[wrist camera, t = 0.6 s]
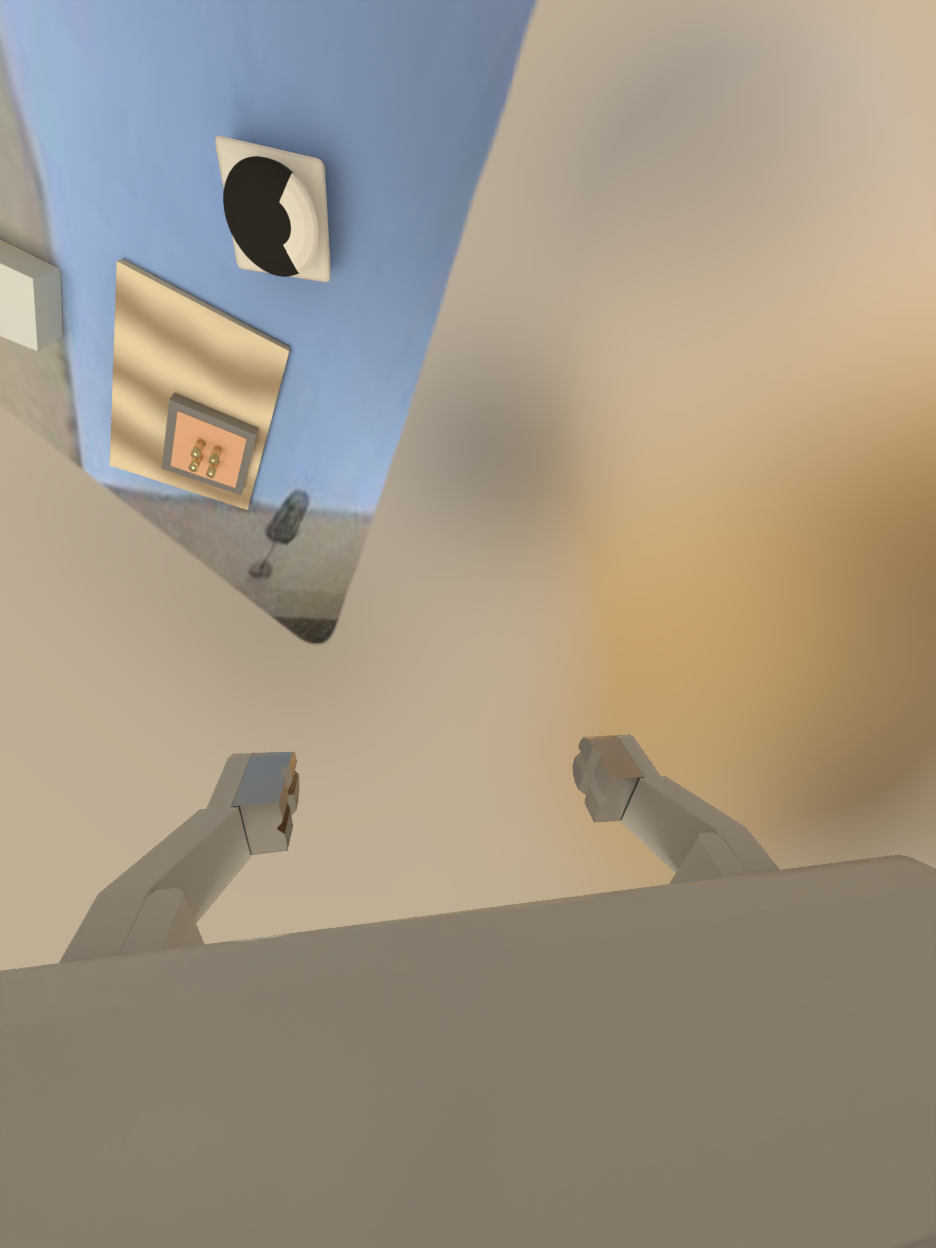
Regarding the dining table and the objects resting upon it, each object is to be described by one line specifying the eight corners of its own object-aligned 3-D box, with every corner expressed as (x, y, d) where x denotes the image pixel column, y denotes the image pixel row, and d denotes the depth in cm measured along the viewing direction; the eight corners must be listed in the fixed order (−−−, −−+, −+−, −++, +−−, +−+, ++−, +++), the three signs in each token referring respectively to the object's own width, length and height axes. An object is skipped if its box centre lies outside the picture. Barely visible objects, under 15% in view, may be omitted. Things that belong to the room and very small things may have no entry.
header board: (122, 258, 36) (93, 270, 32) (290, 347, 44) (285, 366, 39) (114, 459, 48) (92, 488, 43) (249, 503, 55) (241, 532, 50)
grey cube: (-33, 223, 33) (-74, 229, 30) (60, 269, 36) (32, 278, 33) (-23, 299, 36) (-58, 312, 33) (62, 336, 39) (37, 351, 36)
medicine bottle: (249, 257, 38) (226, 279, 30) (229, 139, 33) (196, 128, 25) (330, 270, 40) (329, 294, 32) (324, 161, 35) (321, 157, 27)
